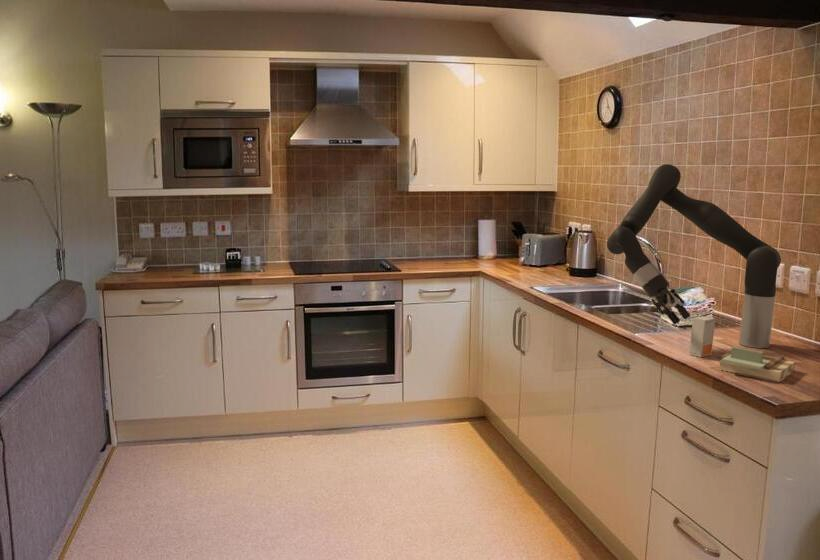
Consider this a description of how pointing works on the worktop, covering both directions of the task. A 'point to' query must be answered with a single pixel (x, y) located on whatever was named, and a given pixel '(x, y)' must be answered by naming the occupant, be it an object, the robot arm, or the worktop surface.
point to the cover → (746, 358)
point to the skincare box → (702, 336)
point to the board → (771, 372)
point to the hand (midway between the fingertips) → (682, 320)
